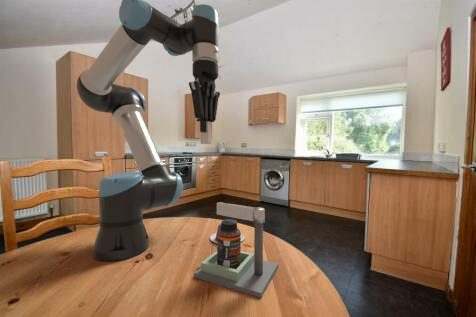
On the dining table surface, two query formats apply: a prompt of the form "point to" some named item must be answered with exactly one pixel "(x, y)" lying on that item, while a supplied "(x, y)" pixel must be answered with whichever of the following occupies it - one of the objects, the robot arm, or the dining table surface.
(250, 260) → the socket base
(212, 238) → the pudding
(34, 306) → the dining table surface
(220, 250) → the supplement bottle
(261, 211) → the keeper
